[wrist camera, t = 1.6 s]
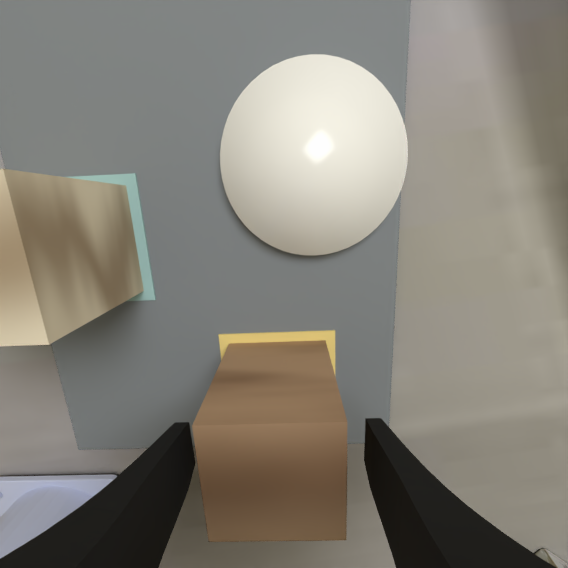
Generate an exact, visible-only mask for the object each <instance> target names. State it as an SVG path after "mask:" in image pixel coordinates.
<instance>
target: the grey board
mask: <svg viewBox="0 0 568 568" xmlns="http://www.w3.org/2000/svg"><path fill="white" fill-rule="evenodd" d="M410 4H411V0H0V150H1V154H2V158H3V162H4V166H5V169H9V170H16V171H23V172H31V173H38V174H45V175H53V176H60V177H67V178H75V179H82V180H89V181H97V182H104V183H111V184H119V185H126V188H127V193H128V199H129V205H130V211H131V217H132V223H133V229H134V235H135V241H136V247H137V253H138V259H139V265H140V271H141V277H142V283H143V289H144V291H143V292H141V293H139V294H137V295H136V296H134V297H132V298H130V299H129V300H127V301H125V302H123V303H122V304H120V305H118V306H116V307H115V308H113V309H111V310H109V311H107V312H106V313H104V314H102V315H100V316H99V317H97V318H95V319H93V320H92V321H90V322H88V323H86V324H85V325H83V326H81V327H79V328H78V329H76V330H74V331H72V332H70V333H69V334H67V335H65V336H63V337H62V338H60V339H58V340H56V341H55V342H53V343H51V346H52V350H53V353H54V357H55V361H56V365H57V369H58V373H59V376H60V380H61V384H62V388H63V392H64V396H65V399H66V403H67V407H68V411H69V415H70V419H71V422H72V426H73V430H74V434H75V438H76V442H77V445H78V449H79V450H85V449H130V448H149V447H150V446H151V445H152V444H153V443H154V442H155V441H156V440H157V439H158V438H159V437H160V436H161V435H162V434H163V433H164V432H165V431H166V430H167V429H168V428H169V427H170V426H171V425H173V424H174V423H175V422H189V424H190V431H191V437H192V444H193V447H195V443H194V436H193V429H192V425H193V422H194V420H195V418H196V416H197V414H198V411H199V409H200V407H201V405H202V402H203V400H204V398H205V396H206V394H207V391H208V389H209V387H210V385H211V382H212V380H213V378H214V376H215V374H216V371H217V369H218V367H219V365H220V362H221V360H222V358H223V356H224V354H225V351H226V349H227V347H228V345H229V343H259V342H289V341H320V340H326V344H327V348H328V351H329V355H330V359H331V363H332V366H333V370H334V374H335V377H336V381H337V385H338V389H339V392H340V396H341V400H342V404H343V407H344V411H345V415H346V418H347V444H355V443H365V418H381V419H382V420H383V421H384V422H385V423H386V424H387V426H388V427H389V417H390V397H391V377H392V358H393V338H394V318H395V299H396V279H397V259H398V240H399V220H400V200H401V191H400V194H399V196H398V198H397V200H396V202H395V204H394V206H393V208H392V209H391V211H390V212H389V214H388V215H387V217H386V218H385V219H384V220H383V221H382V223H381V224H380V225H379V226H378V227H377V228H376V229H375V230H374V231H373V232H372V233H370V234H369V235H368V236H367V237H365V238H364V239H362V240H361V241H360V242H358V243H356V244H354V245H352V246H350V247H348V248H346V249H343V250H341V251H338V252H334V253H330V254H325V255H315V256H314V255H299V254H292V253H289V252H285V251H282V250H280V249H277V248H275V247H273V246H271V245H269V244H267V243H266V242H264V241H262V240H261V239H260V238H258V237H257V236H256V235H255V234H253V233H252V232H251V231H250V230H249V229H248V228H247V227H246V226H245V225H244V224H243V222H242V221H241V220H240V218H239V217H238V216H237V214H236V213H235V211H234V209H233V207H232V206H231V204H230V201H229V199H228V197H227V194H226V192H225V188H224V184H223V181H222V175H221V168H220V148H221V140H222V135H223V130H224V127H225V124H226V121H227V118H228V115H229V113H230V111H231V109H232V107H233V105H234V103H235V102H236V100H237V99H238V97H239V96H240V94H241V93H242V92H243V90H244V89H245V88H246V87H247V86H248V85H249V84H250V83H251V81H253V80H254V79H255V78H256V77H257V76H258V75H260V74H261V73H262V72H264V71H265V70H267V69H268V68H270V67H271V66H273V65H275V64H277V63H279V62H282V61H284V60H286V59H290V58H293V57H297V56H302V55H310V54H324V55H330V56H336V57H340V58H343V59H346V60H349V61H351V62H353V63H355V64H357V65H359V66H361V67H363V68H364V69H366V70H367V71H368V72H370V73H371V74H373V75H374V76H375V77H376V78H377V79H378V80H379V81H380V82H381V83H382V84H383V85H384V87H385V88H386V89H387V90H388V92H389V93H390V94H391V96H392V98H393V99H394V101H395V103H396V105H397V106H398V109H399V111H400V114H401V116H402V119H403V122H405V102H406V82H407V63H408V43H409V23H410Z"/></svg>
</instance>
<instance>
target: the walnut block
mask: <svg viewBox="0 0 568 568" xmlns="http://www.w3.org/2000/svg"><path fill="white" fill-rule="evenodd" d="M192 429H193V436H194V443H195V450H196V457H197V464H198V471H199V478H200V485H201V492H202V499H203V506H204V512H205V519H206V526H207V533H208V540H209V542H239V541H319V540H346V515H347V418H346V415H345V411H344V407H343V404H342V400H341V396H340V392H339V389H338V385H337V381H336V377H335V374H334V370H333V366H332V363H331V359H330V355H329V351H328V348H327V344H326V340H320V341H289V342H259V343H229V345H228V347H227V349H226V351H225V354H224V356H223V358H222V360H221V362H220V365H219V367H218V369H217V371H216V374H215V376H214V378H213V380H212V382H211V385H210V387H209V389H208V391H207V394H206V396H205V398H204V400H203V402H202V405H201V407H200V409H199V411H198V414H197V416H196V418H195V420H194V422H193V425H192Z"/></svg>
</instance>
